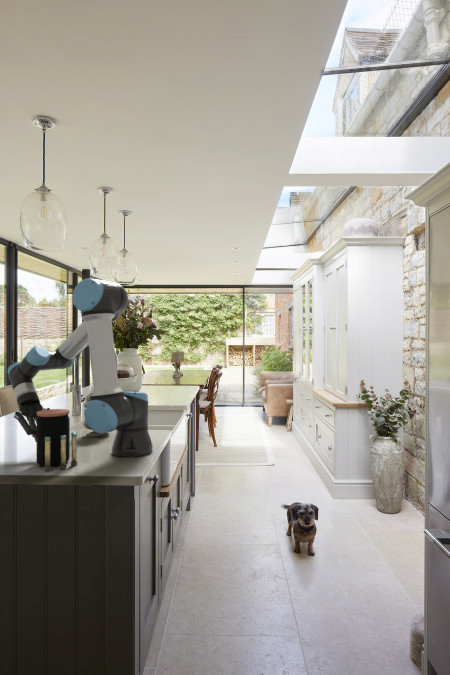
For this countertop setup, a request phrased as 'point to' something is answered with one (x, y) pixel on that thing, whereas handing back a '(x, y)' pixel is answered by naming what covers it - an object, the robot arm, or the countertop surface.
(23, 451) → the countertop surface
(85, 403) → the apothecary jar
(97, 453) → the countertop surface
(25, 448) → the countertop surface
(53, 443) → the coffee jar
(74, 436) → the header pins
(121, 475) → the countertop surface
